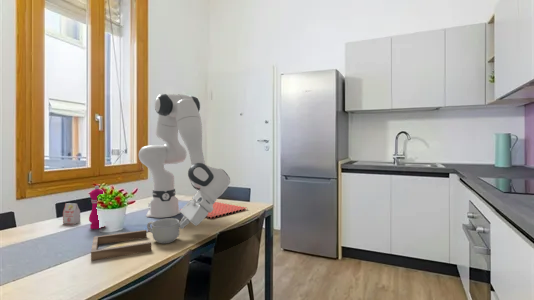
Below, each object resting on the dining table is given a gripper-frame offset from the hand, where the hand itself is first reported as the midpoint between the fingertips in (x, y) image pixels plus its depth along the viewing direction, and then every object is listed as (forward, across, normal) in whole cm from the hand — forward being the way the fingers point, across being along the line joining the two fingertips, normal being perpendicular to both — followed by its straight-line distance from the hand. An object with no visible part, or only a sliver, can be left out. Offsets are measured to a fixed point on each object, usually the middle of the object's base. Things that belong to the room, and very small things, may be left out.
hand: (179, 227), depth 126 cm
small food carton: (+34, -51, -27) cm, 67 cm away
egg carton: (-16, -42, +24) cm, 51 cm away
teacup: (+8, -1, -1) cm, 8 cm away
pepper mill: (+25, -36, -18) cm, 48 cm away
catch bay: (+18, 0, -12) cm, 22 cm away
